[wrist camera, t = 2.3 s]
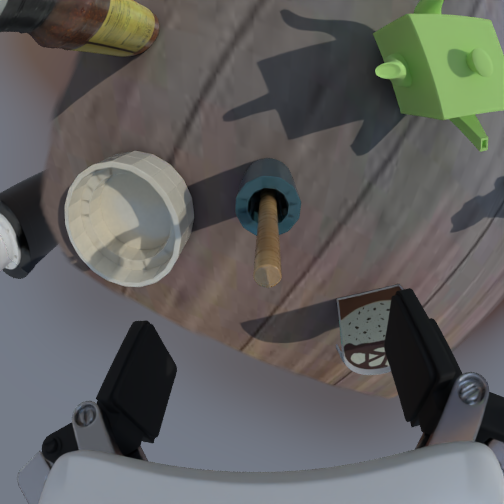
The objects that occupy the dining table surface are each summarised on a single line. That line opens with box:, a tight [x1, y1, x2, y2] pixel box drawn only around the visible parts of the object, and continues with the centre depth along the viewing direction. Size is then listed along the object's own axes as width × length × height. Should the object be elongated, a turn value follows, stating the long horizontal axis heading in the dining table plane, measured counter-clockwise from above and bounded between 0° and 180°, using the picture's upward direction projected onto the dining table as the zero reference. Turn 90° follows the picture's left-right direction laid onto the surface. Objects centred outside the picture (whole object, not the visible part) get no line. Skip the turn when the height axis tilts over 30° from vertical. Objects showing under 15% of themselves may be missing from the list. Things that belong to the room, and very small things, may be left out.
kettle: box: [373, 0, 504, 152], centre depth 16 cm, size 15×14×11 cm
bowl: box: [65, 151, 194, 287], centre depth 29 cm, size 14×14×6 cm
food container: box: [336, 284, 404, 375], centre depth 33 cm, size 12×6×10 cm, turn 105°
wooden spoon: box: [253, 188, 282, 287], centre depth 21 cm, size 1×3×17 cm, turn 11°
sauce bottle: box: [0, 0, 159, 57], centre depth 12 cm, size 7×6×20 cm
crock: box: [235, 158, 301, 236], centre depth 26 cm, size 5×5×8 cm
